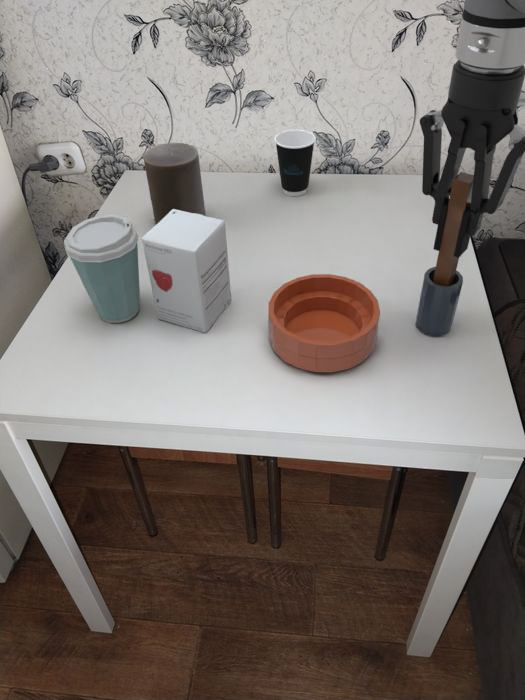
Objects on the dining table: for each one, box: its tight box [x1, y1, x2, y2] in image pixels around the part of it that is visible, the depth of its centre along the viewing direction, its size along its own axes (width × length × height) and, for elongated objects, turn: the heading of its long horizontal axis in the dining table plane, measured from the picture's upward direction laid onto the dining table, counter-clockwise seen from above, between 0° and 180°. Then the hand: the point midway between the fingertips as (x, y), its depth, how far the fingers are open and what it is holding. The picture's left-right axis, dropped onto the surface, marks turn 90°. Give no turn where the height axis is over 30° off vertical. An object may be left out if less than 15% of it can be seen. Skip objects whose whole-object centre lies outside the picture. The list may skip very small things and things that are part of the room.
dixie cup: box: [273, 128, 317, 197], centre depth 116 cm, size 8×8×11 cm
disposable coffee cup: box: [63, 213, 141, 324], centre depth 89 cm, size 11×11×15 cm
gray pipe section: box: [415, 266, 464, 338], centre depth 85 cm, size 5×5×9 cm
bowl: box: [267, 273, 381, 373], centre depth 85 cm, size 16×16×6 cm
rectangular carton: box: [141, 209, 232, 334], centre depth 88 cm, size 9×9×15 cm
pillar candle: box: [143, 142, 207, 225], centre depth 107 cm, size 10×10×15 cm
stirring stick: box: [433, 171, 474, 286], centre depth 79 cm, size 2×2×22 cm
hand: (450, 248), depth 79 cm, fingers closed on stirring stick, 2 cm apart
